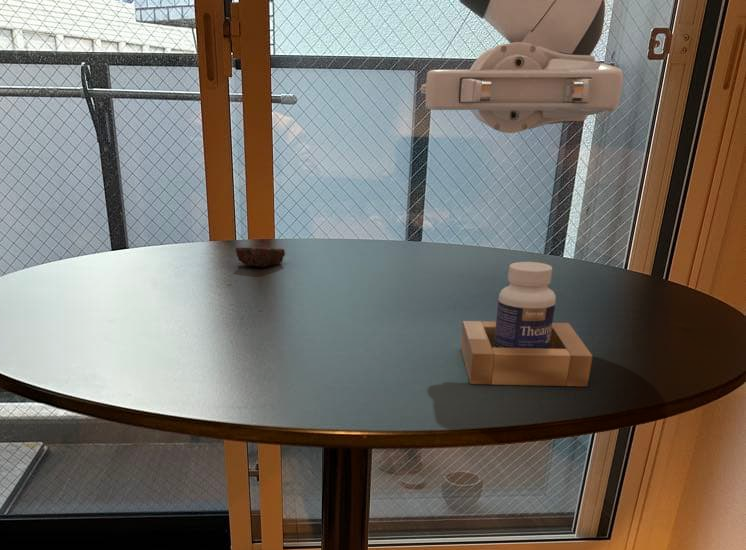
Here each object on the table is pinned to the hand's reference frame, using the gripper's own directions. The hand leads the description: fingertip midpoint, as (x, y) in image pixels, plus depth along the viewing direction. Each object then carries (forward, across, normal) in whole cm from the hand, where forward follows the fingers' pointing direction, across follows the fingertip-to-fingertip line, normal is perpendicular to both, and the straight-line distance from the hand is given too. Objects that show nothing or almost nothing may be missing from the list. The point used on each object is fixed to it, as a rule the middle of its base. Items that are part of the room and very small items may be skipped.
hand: (531, 91), depth 78 cm
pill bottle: (+12, 0, +24) cm, 27 cm away
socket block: (+12, 0, +24) cm, 27 cm away
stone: (-33, -32, +24) cm, 52 cm away
